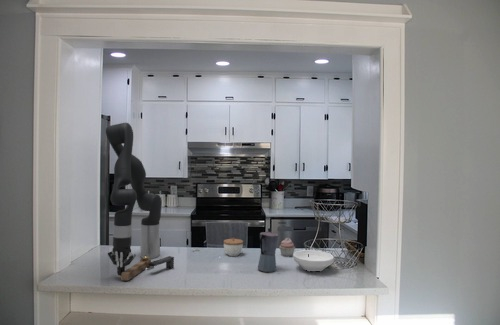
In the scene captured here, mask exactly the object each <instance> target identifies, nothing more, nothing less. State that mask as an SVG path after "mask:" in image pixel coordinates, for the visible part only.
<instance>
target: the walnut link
mask: <svg viewBox="0 0 500 325" xmlns="http://www.w3.org/2000/svg"><path fill="white" fill-rule="evenodd" d="M150 262H152V258H151V259H149V258H148V260H143V258H140V260H139V261H138V262H137V263H135V264H134V265H132V266H130V267H129V268H127V269H125V271H124V272H122V273H121V276H120V279H121V281H130V280H131V279H132V278H134V277H136V276H137V275H139V274H140V273H141V272H143V271H145V270H144V269H145V268H147V267H150V265H149V263H150Z"/></svg>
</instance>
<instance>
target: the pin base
mask: <svg viewBox="0 0 500 325" xmlns="http://www.w3.org/2000/svg"><path fill="white" fill-rule="evenodd" d="M148 258H149V256H143V258H142V259H143V260H148ZM154 268H155V266H150V267H147V268H145V269H144V270H143V271H149V270H152V269H154Z"/></svg>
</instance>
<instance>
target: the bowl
mask: <svg viewBox="0 0 500 325" xmlns="http://www.w3.org/2000/svg"><path fill="white" fill-rule="evenodd" d="M308 254H309V257H308ZM292 258H293V261H294V262H295V263H297V264H298V265H299V266H300V267H301V268H302V269H303V270H304V271H306V270H307V272H310V271H320V272H322V271H323V270H324V269H326V268H327V267H328V266H331V265H332V264H333V263H334V260H335V259H334V258H335V257H334V255H332V254H331V253H329V252H326V251H322V250H316V249H315V250H314V249H309V250H308V249H304V250H297V251H294V252H293V255H292Z"/></svg>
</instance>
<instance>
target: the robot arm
mask: <svg viewBox="0 0 500 325" xmlns="http://www.w3.org/2000/svg"><path fill="white" fill-rule="evenodd" d="M105 135H106V138H107V141H108V142H109V145H110V146H111V147H112V148H111V149H113V151H114V153H115V155H116V156H117V159H116V161H115V164H114V168H113V170H114V171H113V175H114V176H113V177H114V182H113V186H112V191H111V193H110V202H111V204H112V205H113V206H126V207H125V208H124V209H121V210H117V211H115V212H114V216H113V218H114V221H113V230H112V231H113V233H112V247H113V248H112V250H111V251H109V252H107V256H108V257H109V259H110V261H111V263H112V264H113V265H115V266H116V267H117V271H116V273H117V276H120V277H121V273H122V272H124V271H125V270H126V267H127V266H129V265H131V263H132V262H133V260H135V258H136V254H135V253H133V252H132V249H131V246H132V239H133V237H132V235H133V232H132V231H133V230H132V229H133V228H132V218H133V211H134V208H135V204H136V203H137V206H138V208H139V209H140V210H141V211H144V212H148V213H149V214H148V216H147V217H143V218H142V219H141V222H140V259H143V256H149V259H151V260H152V259H156V258H158V257H159V256H160V255H161V237H160V220H161V217H162V216H161V215H162V198H161V196H160V195H159V194H156V193H148V192H147V190H146V188H145V181H146V176H147V173H146V172H147V171H146V169H145V167H144V165H143V162H142V161H141V160H140V159H139V158H138V157H137V156H136V155H134V154H133V145H134V131H133V128H132V125H131V124H130V123H129V122H121V123H116V124H112V125H109V126H106V127H105ZM129 185H131V186H130V187H131V188H122V187H125V186H129Z"/></svg>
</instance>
